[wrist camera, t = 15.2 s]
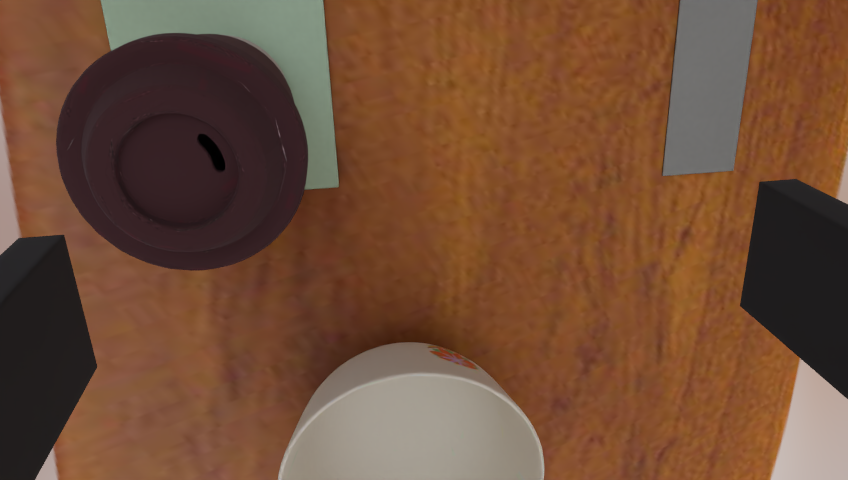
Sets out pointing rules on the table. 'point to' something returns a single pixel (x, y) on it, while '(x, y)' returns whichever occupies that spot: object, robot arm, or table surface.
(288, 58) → the mat
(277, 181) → the coffee cup
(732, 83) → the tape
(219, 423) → the table surface
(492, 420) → the bowl
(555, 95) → the table surface
